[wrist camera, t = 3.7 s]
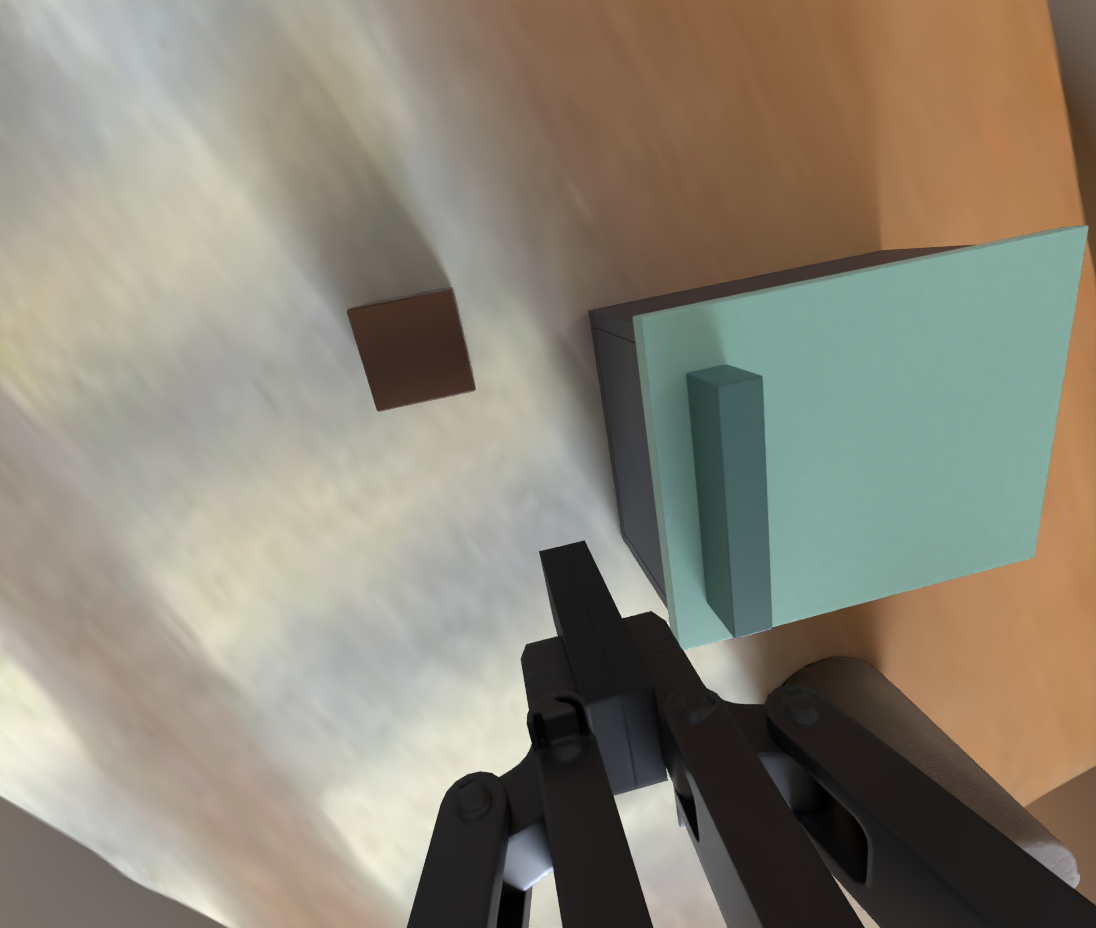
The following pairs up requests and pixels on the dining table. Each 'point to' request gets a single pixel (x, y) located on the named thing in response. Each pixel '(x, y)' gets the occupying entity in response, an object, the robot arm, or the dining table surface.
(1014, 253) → the lid
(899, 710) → the pillar candle
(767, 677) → the dining table surface
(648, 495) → the bin
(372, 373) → the block
